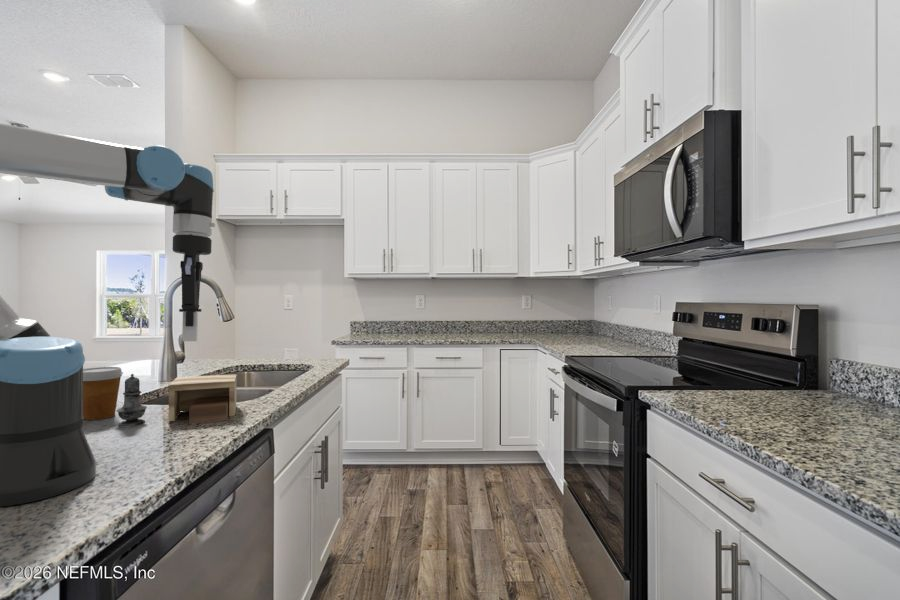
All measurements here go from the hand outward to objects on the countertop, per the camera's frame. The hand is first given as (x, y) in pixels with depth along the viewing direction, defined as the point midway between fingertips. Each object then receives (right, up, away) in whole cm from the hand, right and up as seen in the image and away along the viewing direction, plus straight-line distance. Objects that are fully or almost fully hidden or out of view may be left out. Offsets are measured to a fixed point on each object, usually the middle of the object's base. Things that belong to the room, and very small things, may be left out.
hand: (189, 340), depth 98 cm
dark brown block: (-3, -21, +14) cm, 25 cm away
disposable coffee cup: (-30, -21, +13) cm, 39 cm away
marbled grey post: (-18, -21, +7) cm, 28 cm away
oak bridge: (-6, -21, +16) cm, 27 cm away
